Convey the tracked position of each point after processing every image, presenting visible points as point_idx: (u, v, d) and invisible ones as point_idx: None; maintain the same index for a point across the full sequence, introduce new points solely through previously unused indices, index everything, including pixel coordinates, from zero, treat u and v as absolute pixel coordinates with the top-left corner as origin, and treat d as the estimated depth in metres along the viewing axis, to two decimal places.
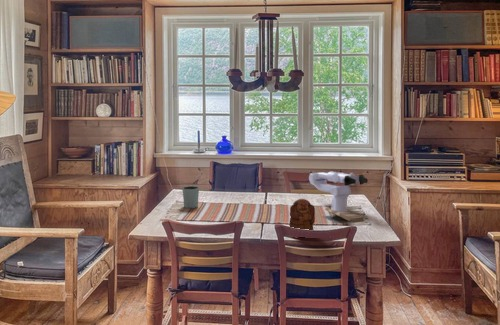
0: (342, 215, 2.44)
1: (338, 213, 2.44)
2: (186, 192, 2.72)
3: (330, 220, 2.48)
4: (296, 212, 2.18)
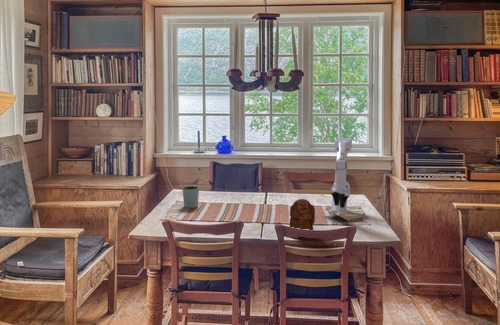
0: (342, 215, 2.44)
1: (338, 213, 2.44)
2: (186, 192, 2.72)
3: (330, 220, 2.48)
4: (296, 212, 2.18)
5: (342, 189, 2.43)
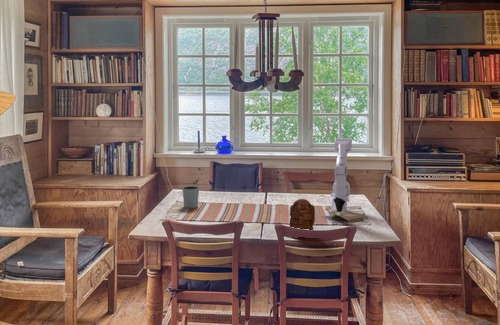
0: (342, 215, 2.44)
1: (338, 213, 2.44)
2: (186, 192, 2.72)
3: (330, 220, 2.48)
4: (296, 212, 2.18)
5: (342, 194, 2.43)
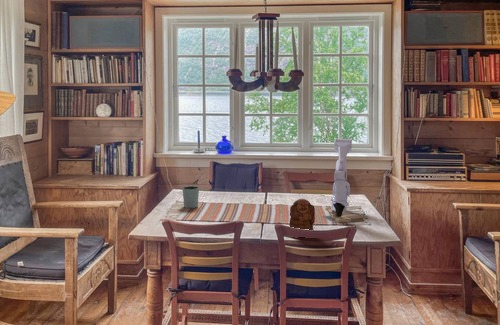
0: (341, 220, 2.44)
1: (337, 220, 2.45)
2: (186, 192, 2.72)
3: (330, 220, 2.48)
4: (296, 212, 2.18)
5: (342, 199, 2.43)
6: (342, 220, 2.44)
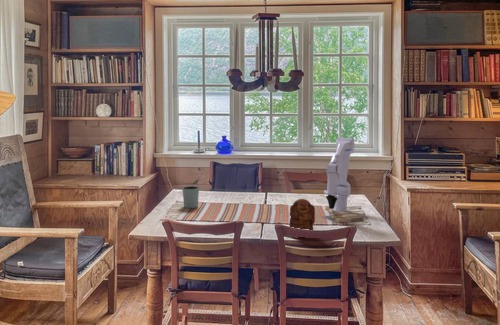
0: (341, 220, 2.44)
1: (337, 220, 2.45)
2: (186, 192, 2.72)
3: (330, 220, 2.48)
4: (296, 212, 2.18)
5: (334, 192, 2.50)
6: (342, 220, 2.44)
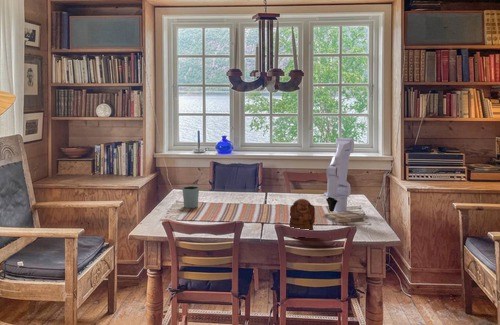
0: (341, 220, 2.44)
1: (337, 220, 2.45)
2: (186, 192, 2.72)
3: (330, 220, 2.48)
4: (296, 212, 2.18)
5: (334, 194, 2.50)
6: (342, 220, 2.44)
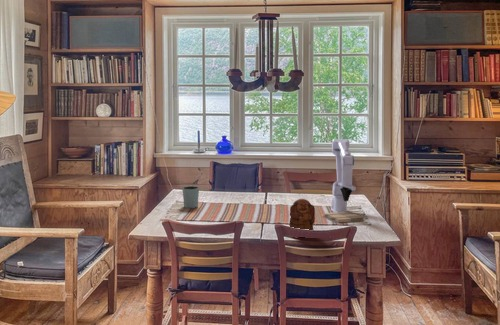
0: (341, 220, 2.44)
1: (337, 220, 2.45)
2: (186, 192, 2.72)
3: (330, 220, 2.48)
4: (296, 212, 2.18)
5: (349, 184, 2.50)
6: (342, 220, 2.44)
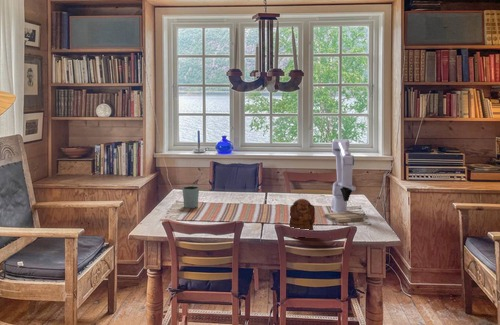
0: (341, 220, 2.44)
1: (337, 220, 2.45)
2: (186, 192, 2.72)
3: (330, 220, 2.48)
4: (296, 212, 2.18)
5: (349, 184, 2.50)
6: (342, 220, 2.44)
